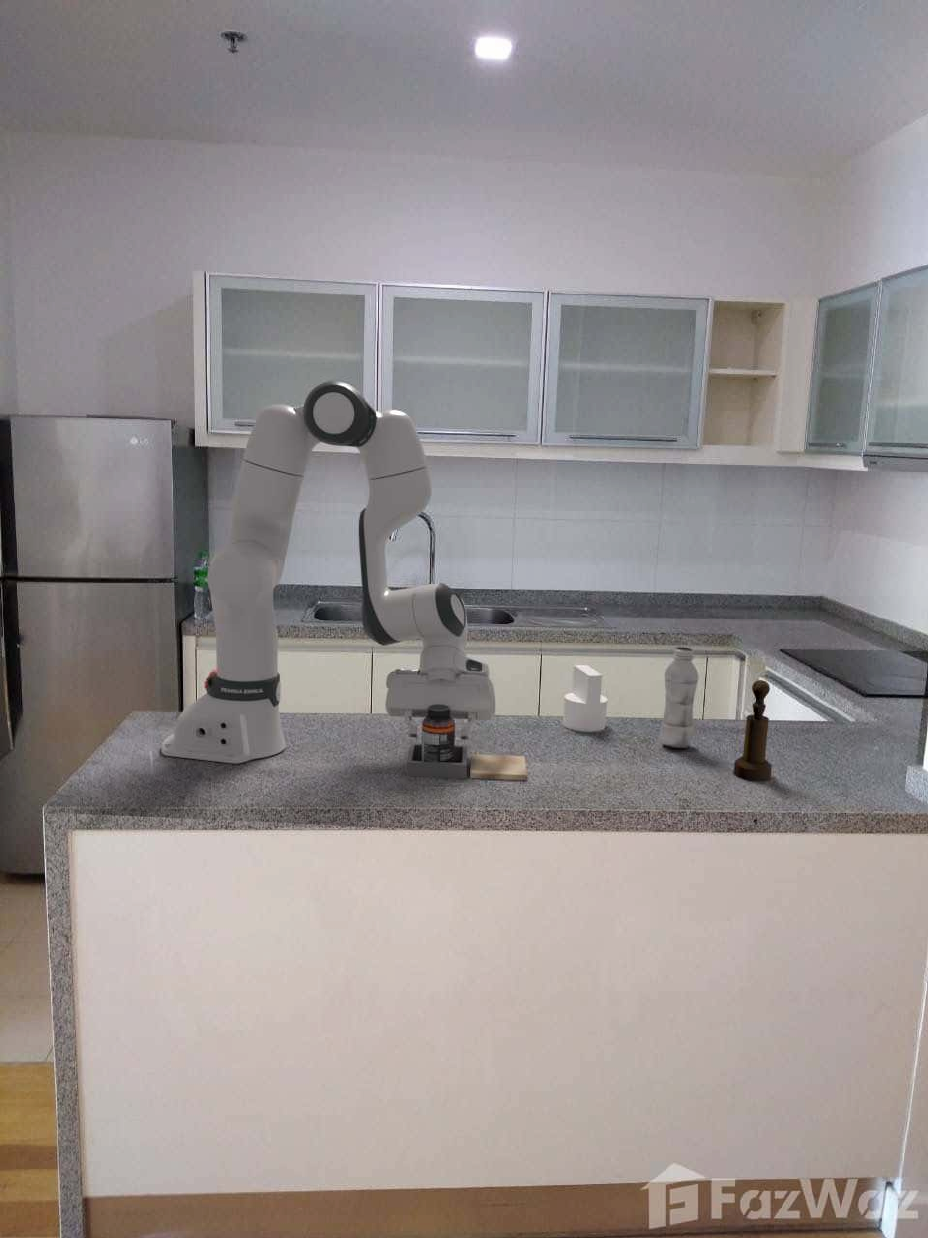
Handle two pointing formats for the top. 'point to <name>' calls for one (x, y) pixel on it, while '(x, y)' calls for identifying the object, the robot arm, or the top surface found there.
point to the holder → (436, 764)
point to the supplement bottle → (438, 735)
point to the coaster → (498, 767)
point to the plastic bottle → (679, 700)
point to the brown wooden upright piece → (755, 740)
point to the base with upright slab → (585, 701)
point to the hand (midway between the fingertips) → (438, 737)
